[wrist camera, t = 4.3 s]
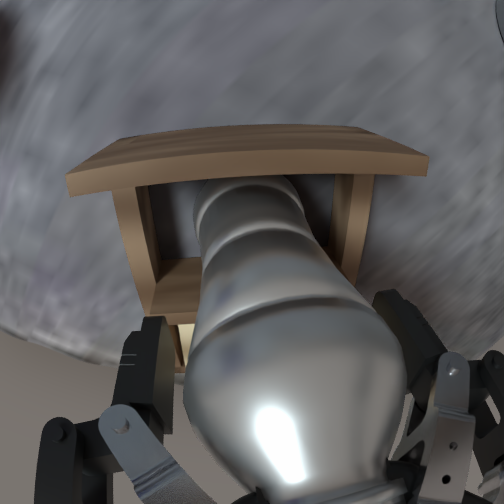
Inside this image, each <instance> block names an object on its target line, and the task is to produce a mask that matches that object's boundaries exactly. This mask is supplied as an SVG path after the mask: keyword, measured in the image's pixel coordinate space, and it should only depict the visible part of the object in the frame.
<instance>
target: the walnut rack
mask: <svg viewBox="0 0 504 504" xmlns="http://www.w3.org/2000/svg"><path fill="white" fill-rule="evenodd" d="M428 163H429V156H427V155H425V154H423V153H420V152H418V151H416V150H414V149H411V148H409V147H407V146H404V145H402V144H400V143H397V142H395V141H392V140H390V139H388V138H385V137H382V136H380V135H377V134H375V133H372V132H369V131H367V130H364V129H361V128H358V127H347V126H331V125H303V124H265V125H237V126H220V127H207V128H195V129H185V130H176V131H168V132H161V133H153V134H146V135H140V136H134V137H128V138H122V139H119V140H117V141H115V142H114V143H112V144H110V145H109V146H107V147H106V148H104V149H102V150H101V151H99V152H98V153H96V154H95V155H93V156H91V157H90V158H88V159H87V160H85V161H84V162H83V163H81V164H80V165H78V166H77V167H75V168H74V169H72V170H71V171H70V172H68V173H67V174H65V178H66V183H67V187H68V191H69V195H70V197H74V196H79V195H85V194H91V193H97V192H103V191H109V190H111V191H112V195H113V200H114V205H115V209H116V214H117V218H118V222H119V227H120V231H121V235H122V239H123V243H124V246H125V250H126V254H127V258H128V261H129V265H130V268H131V272H132V275H133V278H134V282H135V285H136V288H137V291H138V294H139V298H140V301H141V304H142V307H143V310H144V313H145V315H146V316H165V317H166V320H167V323H168V326H169V330H170V333H171V336H172V339H173V342H174V347H175V373H185V368H186V367H185V362H184V356H183V351H182V345H181V339H180V333H179V328H178V325H182V324H195V321H196V317H197V312H198V308H199V303H200V291H201V280H202V270H203V267H202V259H201V257H193V258H181V259H168V260H162V259H161V255H160V250H159V245H158V240H157V235H156V230H155V225H154V219H153V214H152V208H151V202H150V197H149V190H148V185H153V184H162V183H170V182H180V181H190V180H201V179H212V178H225V177H240V176H258V175H280V174H330V173H335V182H334V193H333V203H332V213H331V222H330V231H329V239H328V246H325V247H321V248H322V249H323V250H324V252H325V253H326V254H327V256H328V257H329V259H330V260H331V261H332V263H333V264H334V265H335V267H336V268H337V269H338V270H339V272H340V273H341V274H342V275H343V276H344V277H345V278H346V279H347V280H348V281H349V282H350V283H351V284H352V285H353V286H354V288H355V284H356V279H357V275H358V270H359V266H360V261H361V256H362V251H363V246H364V241H365V235H366V230H367V224H368V218H369V212H370V206H371V199H372V192H373V185H374V177H375V174H389V175H410V176H427V170H428Z"/></svg>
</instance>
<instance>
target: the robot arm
mask: <svg viewBox="0 0 504 504" xmlns="http://www.w3.org/2000/svg"><path fill="white" fill-rule="evenodd" d="M496 13H497V20H498V24H499V28H500V31H501V34H502V37H503V40H504V0H497V2H496ZM372 307H373V308H374V309H375V311H376V312H377V314H379V315H380V316H381V317H382V318H383V319H384V321H385V322H386V324H387V325H388V326H389V328H390V329H391V331H392V332H393V333H394V335H395V336H396V337H397V339H398V341H399V343H400V345H401V347H402V351H403V356H404V361H405V367H406V372H407V387H406V394H409V393H412V395H413V398H412V400H411V403H410V408H409V412H408V416H407V420H406V424H405V428H404V431H403V435H402V438H401V441H400V443H399V445H398V446H397V448H396V450H395V452H394V454H393V456H392V458H391V460H388V458H387V457H386V466H387V470H386V474H387V478H388V480H390V481H392V480H395V479H399V478H403V479H404V482H405V485H406V488H407V491H408V492H406V493H404V498H405V501H406V504H504V355H503V354H502V353H500V352H499V351H496V350H491V351H488V352H487V353H486V354H485V356H484V357H483V359H482V360H472V361H467V360H466V359H465V358H464V357H463V356H462V355H460V354H459V353H456V352H448V351H447V349H446V348H445V346H444V345H443V344H442V342H441V341H440V339H439V338H438V336H437V335H436V333H435V332H434V331H433V329H432V328H431V326H430V325H428V322H427V321H426V319H425V318H423V315H422V314H421V312H420V311H419V310H418V308H417V307H416V306H415V305H413V304H412V303H410V302H409V301H408V300H404V299H403V298H402V297H401V295H400V294H399V293H398V292H397V290H395V289H391V290H385V291H380V292H377V293H376V294H375V297H374V300H373V304H372ZM174 374H175V347H174V342H173V339H172V336H171V333H170V330H169V326H168V323H167V320H166V317H165V316H146V317H144V318H143V322H142V327H141V331H132V332H131V334H130V335H129V336H128V338H127V339H126V341H125V342H124V346H123V350H122V356H121V360H120V366H119V369H118V374H117V380H116V384H115V389H114V395H113V400H112V404H111V406H110V407H109V408H107V409H106V410H105V411H104V412H103V413H102V415H101V416H100V418H98V419H95V420H92V421H87V422H83V423H78V424H73V423H72V422H71V421H69V420H68V419H66V418H63V417H56V418H53V419H51V420H50V421H48V422H47V423H46V424H45V426H44V428H43V431H42V435H41V441H40V447H39V455H38V462H37V470H36V480H35V494H34V504H113V473H115V472H121V471H125V473H126V474H127V476H128V477H129V478H130V480H131V481H132V483H133V485H134V490H135V492H136V494H137V495H138V497H139V498H140V500H141V501H142V502H143V503H144V504H217V503H216V502H215V501H214V500H213V499H212V498H211V497H210V496H209V495H208V494H207V493H206V492H205V491H204V490H203V489H202V488H201V487H200V486H199V485H198V484H197V483H196V482H195V481H194V480H193V479H192V478H191V477H190V476H189V475H188V474H187V473H186V472H185V470H184V469H183V468H182V467H181V466H180V465H179V464H178V463H177V462H176V460H175V459H174V458H173V457H172V456H171V455H170V453H169V452H168V451H167V450H166V449H165V447H164V446H163V438H164V437H163V436H164V434H172V433H173V428H172V427H173V396H174ZM406 394H405V395H406ZM489 395H490V396H491V397H492V399H493V401H494V403H495V405H496V407H497V409H498V411H499V413H500V417H501V419H500V423H499V424H497V423H496V421H495V419H494V417H493V415H492V413H491V411H490V408H489V407H488V405H487V403H486V401H485V400H486V399H487V398H488V396H489ZM472 449H473V451H474V454H475V457H476V459H477V462H478V464H479V467H480V470H481V473H482V475H483V481H482V483H481V484H480V485H479V486H478V492H479V494H483V498H482V497H479V496H477V495H475V494H473V493H470V492H468V491H466V490H465V486H466V482H467V477H468V472H469V466H470V461H471V455H472ZM255 488H256V492H252V493H250V494H247V495H245V496H243V497H241V498H239V499H238V500H236V501H234V502H233V503H232V504H270V503H269V502H268V501H267V500H266V501H265V498H264V496H263V493H262V491H261V489H260V488H258V487H257V486H256V487H255Z"/></svg>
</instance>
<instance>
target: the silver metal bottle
mask: <svg viewBox="0 0 504 504" xmlns="http://www.w3.org/2000/svg"><path fill="white" fill-rule="evenodd" d="M193 222H194V228H195V233H196V237H197V239H198V242H199V245H200V251H201V259H202V267H203V270H202V280H201V291H200V303H199V308H198V312H197V317H196V321H195V326H194V331H193V335H192V340H191V345H190V349H189V354H188V362H187V365H186V368H185V380H184V389H183V404H184V406H185V410H186V412H187V415H188V418H189V421H190V424H191V426H192V429H193V431H194V433H195V435H196V437H197V439H198V440H199V441H200V443H201V444H202V445H203V447H204V448H205V449H206V451H207V452H208V453H209V454H210V456H211V457H212V458H213V460H214V461H215V462H216V464H217V465H218V466H219V467H220V468H221V469H222V470H223V471H224V472H225V473H226V474H227V475H229V477H230V478H231V479H232V480H234V481H235V482H236V483H237V484H238V485H239V486H240V487H241V488H242V489H243V490H245V492H247V493H248V494H250V493H252V492H256V488H255V487H256V486H257V487H258V488H260V489H261V491H262V493H263V496H264V498H265V501H266V500H267V501H268V502H269V503H270V504H406V501H405V498H404V493H406V492H408V491H407V488H406V485H405V482H404V479H403V478H399V479H395V480H392V481H390V480H388V478H387V474H386V470H387V466H386V457H387V458H388V457H389V454H390V451H391V448H392V445H393V442H394V440H395V437H396V434H397V431H398V427H399V424H400V421H401V417H402V412H403V406H404V400H405V394H406V387H407V372H406V367H405V361H404V356H403V351H402V347H401V345H400V343H399V341H398V339H397V337H396V336H395V335H394V333H393V332H392V331H391V329H390V328H389V326H388V325H387V324H386V322H385V321H384V319H383V318H382V317H381V316H380V315H379V314H377V312H376V311H375V309H374V308H373V307H372V306H371V305H370V304H369V303H368V302H367V301H366V300H365V298H364V297H363V296H362V295H361V294H360V293H359V292H358V291H357V290H356V289H355V288H354V286H353V285H352V284H351V283H350V282H349V281H348V280H347V279H346V278H345V277H344V276H343V275H342V274H341V273H340V272H339V270H338V269H337V268H336V267H335V265H334V264H333V263H332V261H331V260H330V259H329V257H328V256H327V254H326V253H325V252H324V250H323V249H322V248H321V247H320V245H319V244H318V242H317V241H316V240H315V238H314V236H313V234H312V231H311V229H310V227H309V225H308V223H307V221H306V218H305V214H304V208H303V206H302V203H301V201H300V198H299V196H298V193H297V191H296V189H295V188H294V187H293V185H292V184H291V182H290V181H288V180H287V179H286V178H285V177H284V176H283V175H281V174H280V175H258V176H240V177H225V178H212V179H209V180H208V181H207V182H206V183H205V185H204V186H203V188H202V189H201V191H200V192H199V194H198V196H197V198H196V201H195V204H194V208H193Z"/></svg>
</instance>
